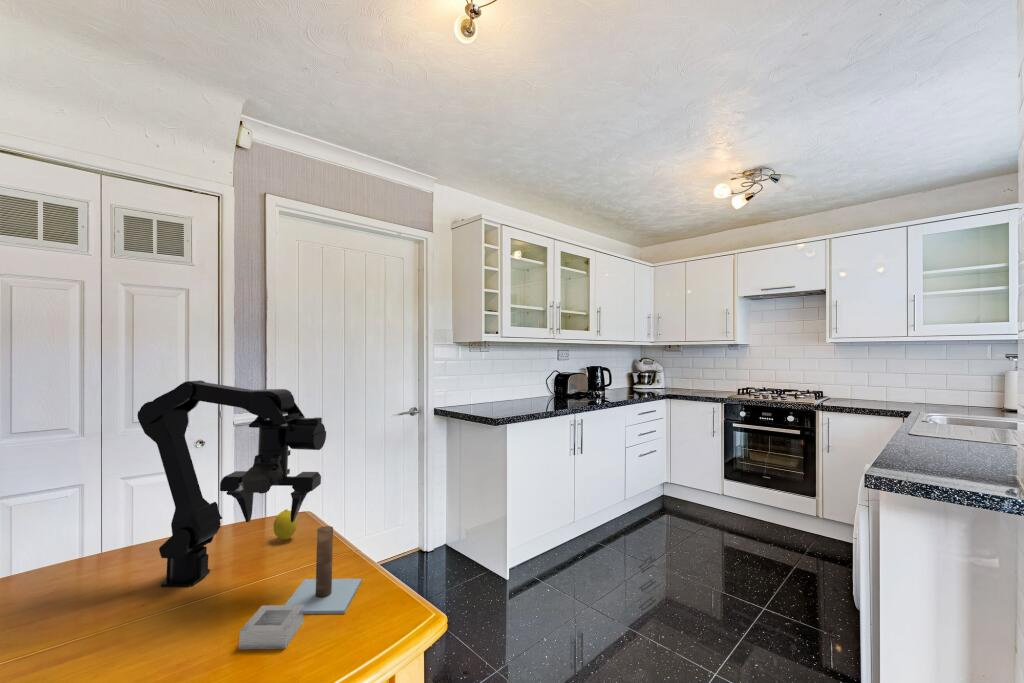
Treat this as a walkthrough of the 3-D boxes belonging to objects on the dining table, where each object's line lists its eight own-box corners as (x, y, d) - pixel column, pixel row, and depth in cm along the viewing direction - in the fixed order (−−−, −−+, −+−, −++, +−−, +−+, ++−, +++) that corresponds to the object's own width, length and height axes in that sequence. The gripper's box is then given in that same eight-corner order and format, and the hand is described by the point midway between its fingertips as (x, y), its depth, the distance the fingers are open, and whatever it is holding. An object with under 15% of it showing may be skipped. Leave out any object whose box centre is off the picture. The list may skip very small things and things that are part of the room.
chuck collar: (238, 649, 74) (239, 630, 74) (261, 622, 82) (262, 605, 82) (285, 648, 74) (286, 630, 75) (303, 621, 82) (304, 605, 82)
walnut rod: (316, 599, 88) (317, 532, 89) (314, 591, 91) (316, 527, 91) (332, 595, 90) (333, 530, 90) (330, 588, 92) (332, 525, 93)
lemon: (300, 536, 119) (302, 506, 119) (288, 545, 114) (289, 513, 114) (281, 535, 120) (282, 505, 120) (268, 544, 114) (269, 512, 114)
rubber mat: (279, 614, 84) (279, 611, 84) (305, 581, 96) (305, 579, 96) (344, 613, 85) (344, 610, 85) (361, 581, 97) (361, 578, 97)
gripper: (205, 456, 87) (201, 537, 87) (302, 457, 88) (299, 537, 88) (236, 444, 98) (233, 516, 98) (323, 445, 100) (320, 516, 99)
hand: (270, 521), depth 95 cm, fingers open, 9 cm apart
